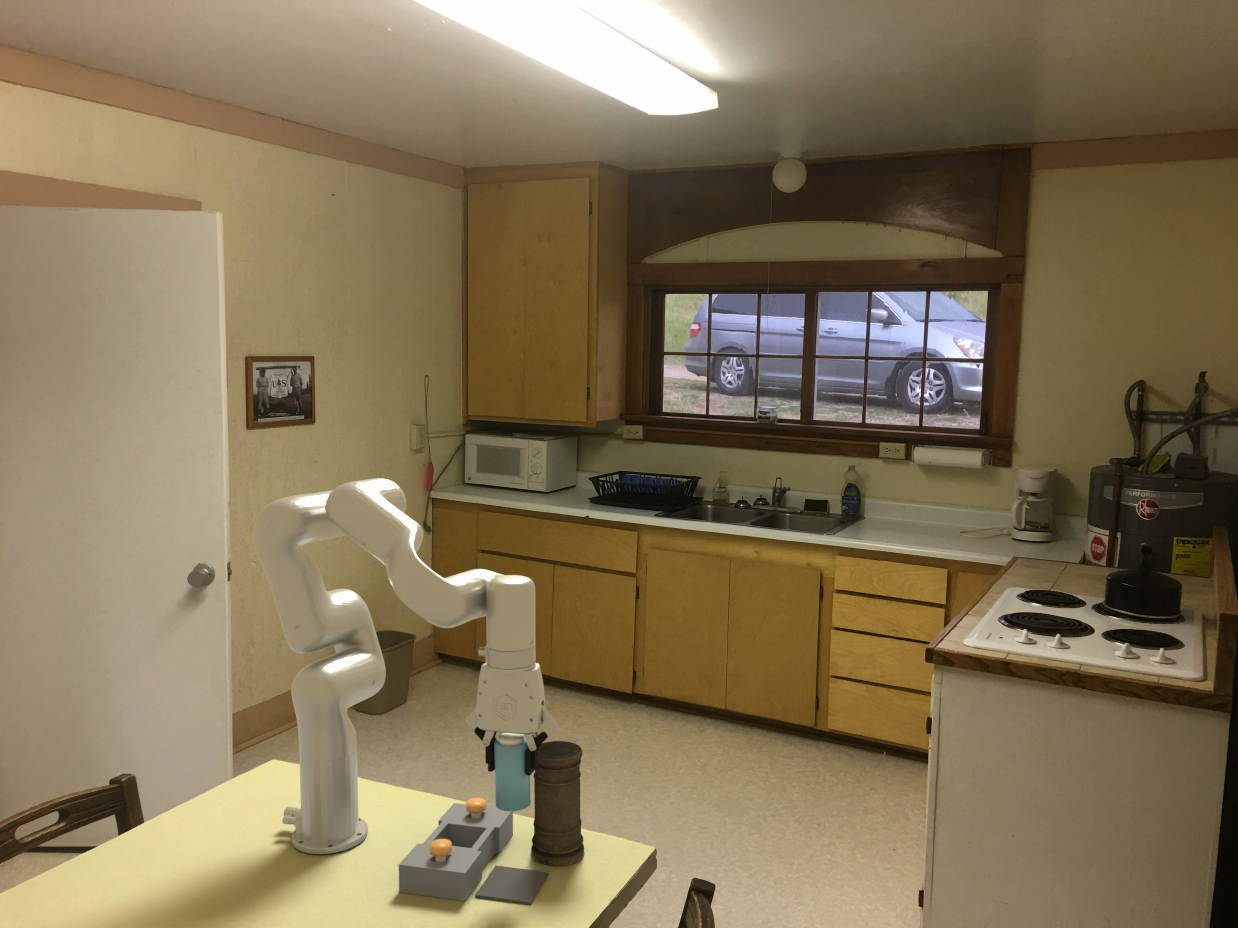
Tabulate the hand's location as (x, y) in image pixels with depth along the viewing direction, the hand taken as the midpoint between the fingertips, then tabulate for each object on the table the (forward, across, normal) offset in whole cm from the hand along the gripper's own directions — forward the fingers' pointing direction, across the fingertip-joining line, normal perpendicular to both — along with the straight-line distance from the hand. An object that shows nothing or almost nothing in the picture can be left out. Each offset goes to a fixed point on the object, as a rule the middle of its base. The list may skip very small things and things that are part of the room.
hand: (512, 768), depth 146 cm
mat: (+19, 0, 0) cm, 19 cm away
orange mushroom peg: (+18, -11, +12) cm, 25 cm away
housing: (+19, -11, +5) cm, 23 cm away
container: (+19, +4, +12) cm, 23 cm away
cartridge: (+6, 0, 0) cm, 6 cm away
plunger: (+18, -11, -2) cm, 22 cm away
